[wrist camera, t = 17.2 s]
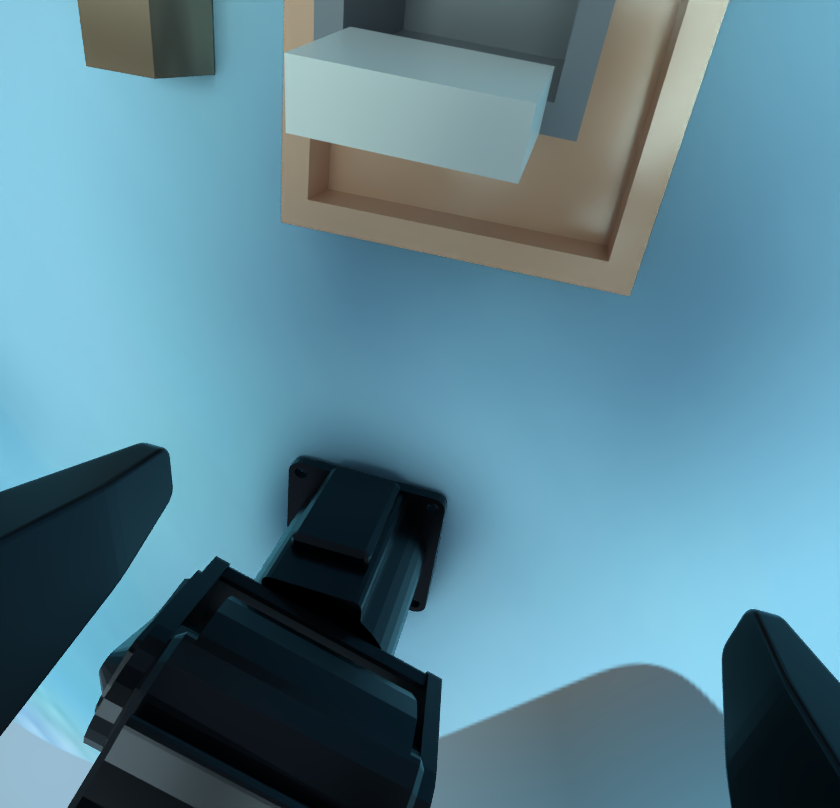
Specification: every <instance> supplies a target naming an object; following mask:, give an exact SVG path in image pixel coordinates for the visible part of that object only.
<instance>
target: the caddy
mask: <svg viewBox="0 0 840 808" xmlns="http://www.w3.org/2000/svg"><path fill="white" fill-rule="evenodd" d="M615 1H616V0H314V41H313V42H310V43H308V44H305V45H302V46H300V47H297V48H295V49H292V50H290V51H287V52H285V53H284V67H285V126H286V133H288V134H293V135H297V136H302V137H307V138H311V139H316V140H320V141H325V142H329V143H334V144H338V145H343V146H348V147H352V148H357V149H361V150H366V151H370V152H375V153H379V154H384V155H389V156H393V157H398V158H402V159H407V160H411V161H416V162H420V163H425V164H430V165H434V166H439V167H443V168H448V169H452V170H457V171H461V172H466V173H471V174H475V175H480V176H484V177H489V178H493V179H498V180H502V181H507V182H512V183H516V184H518V183H519V181H520V178H521V176H522V173H523V171H524V169H525V166H526V164H527V161H528V159H529V157H530V154H531V152H532V149H533V147H534V144H535V142H536V140H537V137H538V135H539V134H542V135H547V136H551V137H556V138H561V139H566V140H571V141H575V142H577V138H578V134H579V131H580V127H581V124H582V120H583V116H584V113H585V109H586V106H587V102H588V98H589V95H590V91H591V88H592V84H593V80H594V77H595V73H596V70H597V66H598V62H599V59H600V55H601V52H602V48H603V44H604V41H605V37H606V34H607V30H608V26H609V23H610V19H611V16H612V12H613V8H614V5H615Z"/></svg>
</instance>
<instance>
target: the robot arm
mask: <svg viewBox="0 0 840 808" xmlns="http://www.w3.org/2000/svg"><path fill="white" fill-rule="evenodd" d="M299 468H302V469H304V470H305V472H306V473H304V472H302V471H301V470H300V469H299ZM172 490H173V485H172V475H171V465H170V456H169V453H168V451H167V450H166V449H165V448H163V447H159V446H156V445H152V444H148V443H139V444H136V445H133V446H130V447H127V448H124V449H121V450H118V451H116V452H113V453H110V454H107V455H104V456H101V457H98V458H96V459H93V460H90V461H87V462H84V463H81V464H78V465H76V466H73V467H70V468H67V469H64V470H61V471H58V472H56V473H53V474H50V475H47V476H44V477H41V478H38V479H36V480H33V481H30V482H27V483H24V484H21V485H18V486H16V487H13V488H10V489H7V490H4V491H1V492H0V736H1V735H2V733H3V732H4V731H5V729H6V728H7V727H8V726H9V724H10V723H11V722H12V720H13V719H14V718H15V716H16V715H17V714H18V713H19V711H20V710H21V709H22V707H23V706H24V705H25V704H26V702H27V701H28V700H29V698H30V697H31V696H32V694H33V693H34V692H35V691H36V689H37V688H38V687H39V685H40V684H41V683H42V681H43V680H44V679H45V678H46V676H47V675H48V674H49V672H50V671H51V670H52V669H53V667H54V666H55V665H56V663H57V662H58V661H59V659H60V658H61V657H62V656H63V654H64V653H65V652H66V650H67V649H68V648H69V647H70V645H71V644H72V643H73V641H74V640H75V639H76V637H77V636H78V635H79V634H80V632H81V631H82V630H83V628H84V627H85V626H86V624H87V623H88V622H89V621H90V619H91V618H92V617H93V615H94V614H95V613H96V612H97V610H98V609H99V608H100V606H101V605H102V604H103V602H104V601H105V600H106V599H107V597H108V596H109V595H110V593H111V592H112V591H113V589H114V588H115V587H116V585H117V584H118V583H119V581H120V580H121V578H122V577H123V575H124V574H125V572H126V571H127V569H128V568H129V566H130V564H131V563H132V561H133V560H134V558H135V556H136V555H137V553H138V551H139V550H140V548H141V547H142V545H143V543H144V542H145V540H146V538H147V537H148V535H149V534H150V532H151V530H152V529H153V527H154V525H155V524H156V522H157V521H158V519H159V517H160V516H161V514H162V512H163V511H164V509H165V508H166V506H167V504H168V503H169V501H170V498H171V495H172ZM430 504H435V505H437V506H438V507H437V508H436V507H432V506H431V505H430ZM446 508H447V501H446V499H445V498H444V497H443V496H442V495H441V494H438V493H436V492H432V491H428V490H424V489H421V488H417V487H413V486H409V485H406V484H402V483H398V482H394V481H391V480H387V479H383V478H379V477H375V476H372V475H368V474H364V473H360V472H357V471H353V470H349V469H345V468H342V467H338V466H334V465H330V464H327V463H323V462H319V461H315V460H311V459H308V458H302V457H300V458H297V459H296V460H295V461H294V462H293V463H292V465H291V466H290V468H289V487H288V521H287V529H286V531H285V533H284V534H283V536H282V537H281V539H280V540H279V542H278V543H277V545H276V547H275V548H274V550H273V551H272V553H271V554H270V556H269V558H268V559H267V561H266V562H265V564H264V565H263V567H262V569H261V570H260V572H259V573H258V575H257V576H256V578H255V580H253V579H251V578H249V577H248V576H246V575H244V574H242V573H240V572H238V571H237V570H235V569H233V568H231V567H229V566H230V563H228V562H226V561H224V560H222V559H221V558H219V557H217V556H216V557H215V558H214V559H213V560H212V561H211V563H210V564H209V565H208V566H207V567H206V568H205V569H204V570H203V572H201V571H199V570H198V571H197V572H196V573H195V574H194V575H193V576H192V577H191V579H184V580H183V582H182V583H181V584H180V585H179V587H178V588H177V589H176V591H175V592H174V593H173V595H172V596H171V597H170V598H169V600H168V601H167V602H166V604H165V605H164V606H163V607H162V609H161V610H160V611H159V612H158V613H157V614H156V615H155V616H154V617H153V618H152V619H151V620H150V621H149V622H148V623H147V624H145V625H144V626H143V627H142V628H140V629H139V630H138V631H137V632H136V633H134V634H133V635H132V636H131V637H130V638H128V639H127V640H126V641H125V642H124V643H122V644H121V645H120V646H119V647H118V648H116V649H115V650H114V651H113V652H112V653H111V654H110V655H109V656H108V658H107V659H106V660H105V662H104V663H103V665H102V667H101V668H100V671H99V676H100V683H101V690H102V695H101V697H100V699H99V701H98V703H97V705H96V709H95V715H94V717H93V719H92V721H91V723H90V725H89V727H88V729H87V731H86V734H85V736H84V742H83V743H85V744H87V745H89V746H91V747H93V748H95V749H97V750H99V751H100V752H101V753H100V755H99V756H98V758H97V760H96V761H95V763H94V765H93V766H92V768H91V770H90V771H89V773H88V775H87V776H86V778H85V779H84V781H83V783H82V785H81V786H80V788H79V789H78V791H77V793H76V794H75V796H74V798H73V799H72V801H71V803H70V804H69V806H68V808H430V806H431V803H432V798H433V793H434V789H435V781H436V772H437V755H438V754H437V753H438V738H439V721H440V704H441V687H442V679H441V678H439V677H437V676H435V675H434V674H432V673H430V672H428V671H427V672H426V673H424V672H422V671H420V670H418V669H417V668H415V667H413V666H411V665H409V664H407V663H406V662H404V661H402V660H400V659H398V658H396V657H395V656H394V653H395V650H396V647H397V644H398V641H399V638H400V635H401V632H402V629H403V626H404V623H405V620H406V617H407V614H408V610H411V611H416V612H418V611H422V610H424V608H425V606H426V603H427V599H428V594H429V590H430V585H431V580H432V575H433V570H434V566H435V561H436V556H437V551H438V547H439V542H440V537H441V532H442V527H443V523H444V518H445V513H446ZM414 599H415V600H414ZM416 600H417V601H416ZM722 684H723V715H724V745H725V763H726V774H727V782H728V789H729V796H730V803H731V808H840V682H839V681H838V680H837V679H836V678H835V677H834V676H833V674H832V673H831V672H830V671H829V670H828V669H827V668H826V667H825V665H824V664H823V663H822V662H821V661H820V660H819V659H818V657H817V656H816V655H815V654H814V653H813V652H812V651H811V649H810V648H809V647H808V646H807V645H806V644H805V643H804V641H803V640H802V639H801V638H800V637H799V636H798V635H797V633H796V632H795V631H794V630H793V629H792V628H791V627H790V625H789V624H788V623H787V622H786V621H785V620H784V619H783V618H781V617H780V616H778V615H775V614H771V613H767V612H764V611H760V610H756V609H750V610H748V611H747V612H745V614H744V615H743V616H742V618H741V620H740V621H739V623H738V624H737V626H736V628H735V629H734V631H733V632H732V634H731V636H730V637H729V639H728V640H727V642H726V644H725V646H724V649H723V653H722Z"/></svg>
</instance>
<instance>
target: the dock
mask: <svg viewBox="0 0 840 808" xmlns="http://www.w3.org/2000/svg"><path fill="white" fill-rule="evenodd" d="M78 7H79V15H80V23H81V30H82V38H83V45H84V53H85V60H86V66H89V67H94V68H100V69H105V70H110V71H116V72H121V73H127V74H132V75H138V76H143V77H148V78H154V79H157V78H172V77H187V76H202V75H215V70H214V42H213V15H212V0H78Z"/></svg>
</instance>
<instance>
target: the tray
mask: <svg viewBox="0 0 840 808" xmlns="http://www.w3.org/2000/svg"><path fill="white" fill-rule="evenodd" d="M728 3H729V0H616V1H615V5H614V8H613V12H612V16H611V19H610V23H609V26H608V30H607V34H606V37H605V41H604V44H603V48H602V52H601V55H600V59H599V62H598V66H597V70H596V73H595V77H594V80H593V84H592V88H591V91H590V95H589V98H588V102H587V106H586V109H585V113H584V116H583V120H582V124H581V127H580V131H579V134H578V138H577V142H575V141H571V140H566V139H561V138H556V137H551V136H547V135H542V134H539V135H538V137H537V140H536V142H535V144H534V147H533V149H532V152H531V154H530V157H529V159H528V161H527V164H526V166H525V169H524V171H523V173H522V176H521V178H520V181H519V183H518V184H516V183H512V182H507V181H502V180H498V179H493V178H489V177H484V176H480V175H475V174H471V173H466V172H461V171H457V170H452V169H448V168H443V167H439V166H434V165H430V164H425V163H420V162H416V161H411V160H407V159H402V158H398V157H393V156H389V155H384V154H379V153H375V152H370V151H366V150H361V149H357V148H352V147H348V146H343V145H338V144H334V143H329V142H325V141H320V140H316V139H311V138H307V137H302V136H297V135H293V134H288V133H286V126H285V67H284V55H283V117H282V180H281V222H282V223H286V224H291V225H296V226H300V227H305V228H310V229H314V230H319V231H324V232H329V233H333V234H338V235H343V236H347V237H352V238H357V239H362V240H366V241H371V242H376V243H380V244H385V245H390V246H395V247H399V248H404V249H409V250H413V251H418V252H423V253H428V254H432V255H437V256H442V257H446V258H451V259H456V260H461V261H465V262H470V263H475V264H479V265H484V266H489V267H494V268H498V269H503V270H508V271H512V272H517V273H522V274H527V275H531V276H536V277H541V278H545V279H550V280H555V281H560V282H564V283H569V284H574V285H578V286H583V287H588V288H592V289H597V290H602V291H607V292H611V293H616V294H621V295H625V296H630V294H631V291H632V288H633V285H634V282H635V279H636V276H637V273H638V270H639V267H640V264H641V261H642V258H643V255H644V252H645V249H646V246H647V244H648V241H649V238H650V235H651V232H652V229H653V226H654V223H655V220H656V217H657V214H658V211H659V208H660V205H661V202H662V199H663V196H664V193H665V190H666V187H667V184H668V181H669V178H670V175H671V172H672V169H673V166H674V163H675V160H676V157H677V154H678V151H679V148H680V145H681V142H682V139H683V136H684V133H685V130H686V127H687V125H688V122H689V119H690V116H691V113H692V110H693V107H694V104H695V101H696V98H697V95H698V92H699V89H700V86H701V83H702V80H703V77H704V74H705V71H706V68H707V65H708V62H709V59H710V56H711V53H712V50H713V47H714V44H715V41H716V38H717V35H718V32H719V29H720V26H721V23H722V20H723V17H724V14H725V11H726V8H727V5H728ZM313 41H314V0H284V53H285V52H287V51H290V50H292V49H295V48H297V47H300V46H302V45H305V44H308V43H310V42H313Z"/></svg>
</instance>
